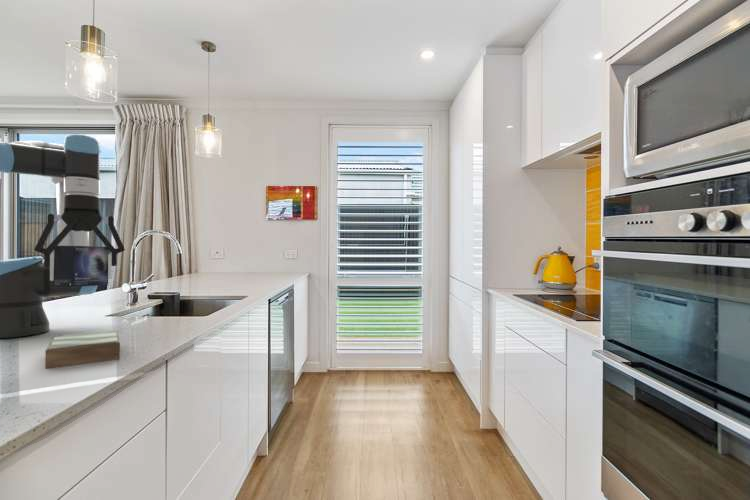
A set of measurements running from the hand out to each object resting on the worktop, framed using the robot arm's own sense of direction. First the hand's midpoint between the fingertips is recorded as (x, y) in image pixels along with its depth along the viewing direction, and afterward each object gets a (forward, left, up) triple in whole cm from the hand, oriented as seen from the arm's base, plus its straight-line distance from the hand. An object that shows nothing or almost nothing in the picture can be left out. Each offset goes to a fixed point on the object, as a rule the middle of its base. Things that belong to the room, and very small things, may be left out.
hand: (82, 279), depth 102 cm
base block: (+5, +1, -19) cm, 19 cm away
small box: (0, 0, -2) cm, 2 cm away
